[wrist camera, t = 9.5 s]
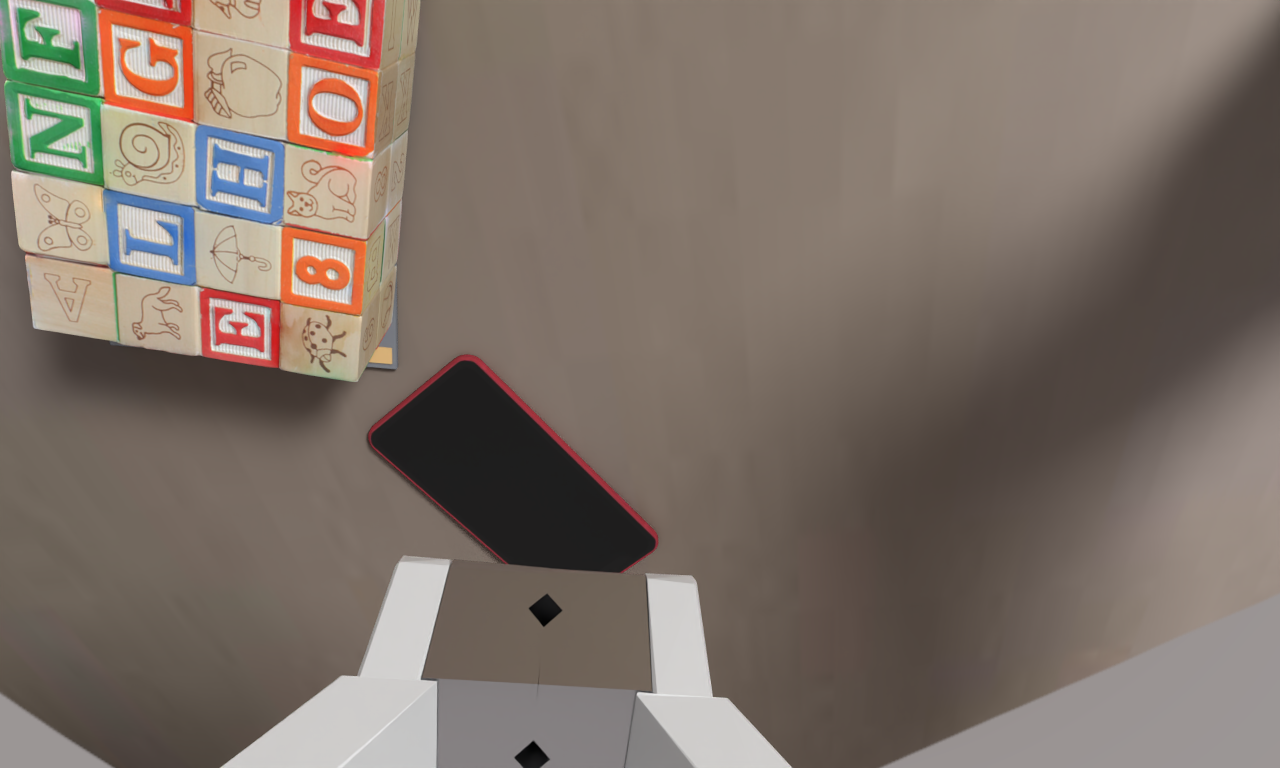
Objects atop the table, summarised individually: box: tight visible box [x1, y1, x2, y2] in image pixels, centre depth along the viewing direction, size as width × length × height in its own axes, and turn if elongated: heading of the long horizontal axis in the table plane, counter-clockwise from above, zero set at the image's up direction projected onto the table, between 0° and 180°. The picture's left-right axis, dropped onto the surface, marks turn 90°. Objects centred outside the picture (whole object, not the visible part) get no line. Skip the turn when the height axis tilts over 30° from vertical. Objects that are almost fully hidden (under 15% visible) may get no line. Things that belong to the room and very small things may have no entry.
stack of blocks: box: [0, 0, 421, 382], centre depth 31 cm, size 21×6×12 cm
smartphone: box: [368, 355, 658, 573], centre depth 44 cm, size 7×1×15 cm
